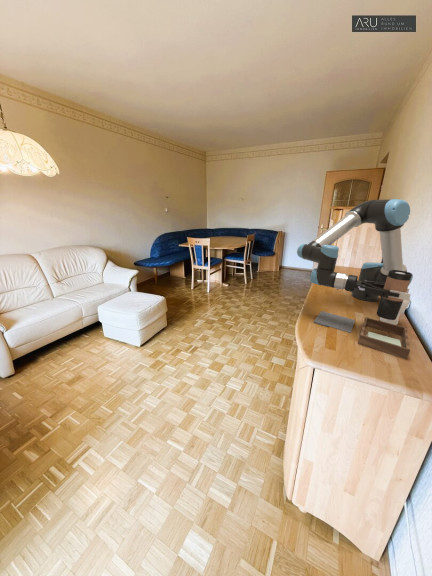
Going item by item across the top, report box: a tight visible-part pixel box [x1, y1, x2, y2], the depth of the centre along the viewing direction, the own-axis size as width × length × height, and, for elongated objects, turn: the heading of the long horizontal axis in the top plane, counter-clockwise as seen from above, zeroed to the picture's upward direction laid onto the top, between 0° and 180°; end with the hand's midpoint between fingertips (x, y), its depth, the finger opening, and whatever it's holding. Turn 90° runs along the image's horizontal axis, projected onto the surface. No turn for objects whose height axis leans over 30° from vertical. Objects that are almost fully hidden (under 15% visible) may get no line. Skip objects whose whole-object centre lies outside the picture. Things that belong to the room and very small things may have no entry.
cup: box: [379, 297, 411, 325], centre depth 113 cm, size 11×11×15 cm
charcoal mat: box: [313, 310, 356, 334], centre depth 112 cm, size 16×16×1 cm
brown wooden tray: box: [357, 316, 411, 360], centre depth 97 cm, size 22×16×4 cm
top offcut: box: [367, 331, 402, 347], centre depth 92 cm, size 8×11×1 cm
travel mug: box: [376, 270, 413, 320], centre depth 95 cm, size 8×8×20 cm
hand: (408, 294), depth 92 cm, fingers closed on travel mug, 7 cm apart
